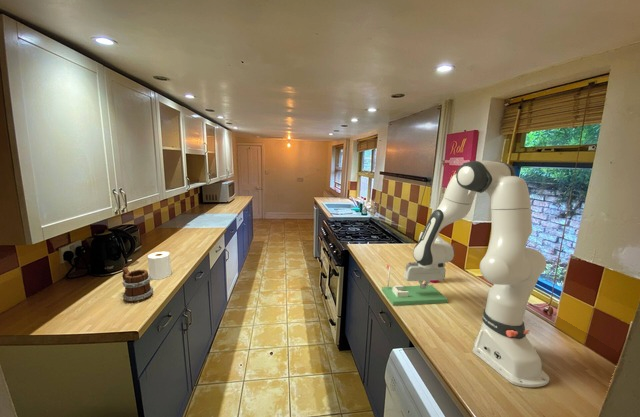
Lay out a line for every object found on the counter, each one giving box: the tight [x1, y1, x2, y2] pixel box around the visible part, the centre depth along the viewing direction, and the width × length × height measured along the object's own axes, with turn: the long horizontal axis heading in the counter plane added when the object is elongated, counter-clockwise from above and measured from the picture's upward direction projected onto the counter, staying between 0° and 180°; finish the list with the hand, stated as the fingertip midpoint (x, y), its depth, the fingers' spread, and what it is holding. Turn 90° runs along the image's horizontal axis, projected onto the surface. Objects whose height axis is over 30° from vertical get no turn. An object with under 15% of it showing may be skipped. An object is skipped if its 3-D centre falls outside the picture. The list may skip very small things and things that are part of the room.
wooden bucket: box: [121, 267, 154, 304], centre depth 121 cm, size 12×14×15 cm
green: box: [381, 263, 449, 306], centre depth 130 cm, size 16×28×14 cm, turn 98°
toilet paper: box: [147, 251, 172, 280], centre depth 142 cm, size 10×10×12 cm
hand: (423, 288), depth 130 cm, fingers closed
